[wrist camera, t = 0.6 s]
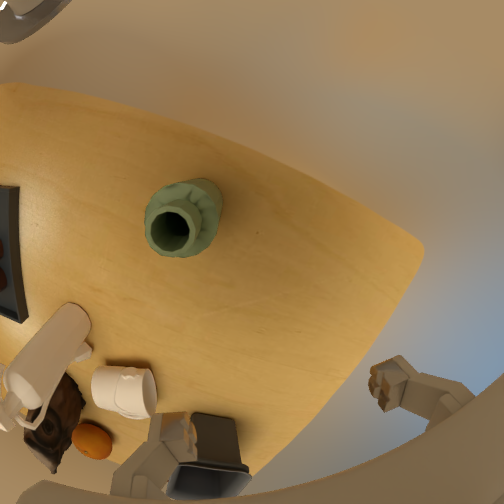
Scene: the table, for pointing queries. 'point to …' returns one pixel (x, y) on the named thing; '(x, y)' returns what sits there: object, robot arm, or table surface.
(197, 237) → the green bottle
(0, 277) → the bottle row
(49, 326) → the fire extinguisher
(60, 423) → the brown rock chunk
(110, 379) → the mug
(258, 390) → the table surface
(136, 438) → the table surface
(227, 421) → the storage bin
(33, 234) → the table surface
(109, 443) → the fruit
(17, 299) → the tray
